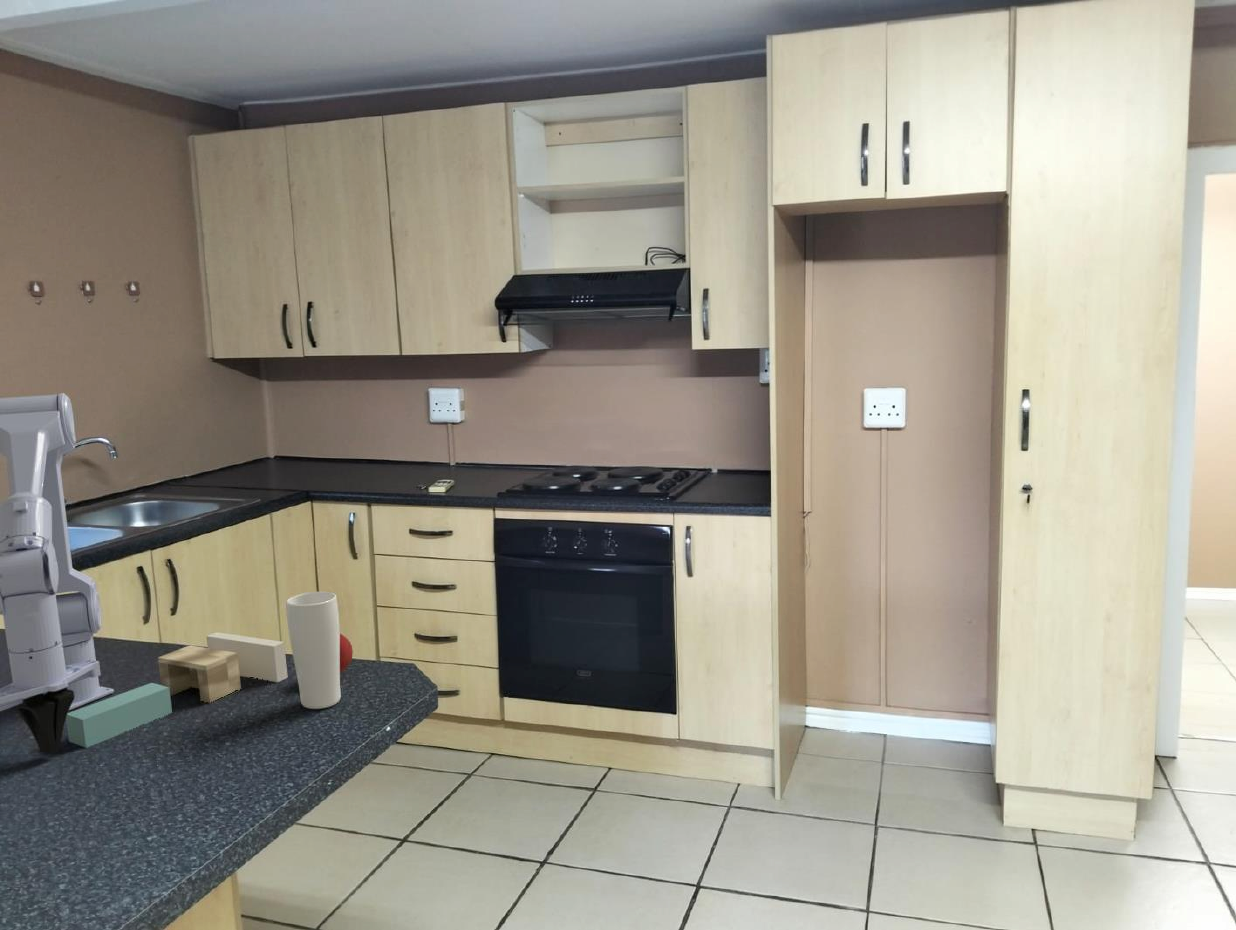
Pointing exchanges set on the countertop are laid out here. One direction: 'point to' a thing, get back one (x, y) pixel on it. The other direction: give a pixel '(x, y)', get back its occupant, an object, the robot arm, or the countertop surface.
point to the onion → (345, 653)
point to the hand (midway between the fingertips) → (50, 750)
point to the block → (200, 672)
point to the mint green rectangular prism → (118, 714)
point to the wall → (253, 655)
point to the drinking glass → (315, 647)
